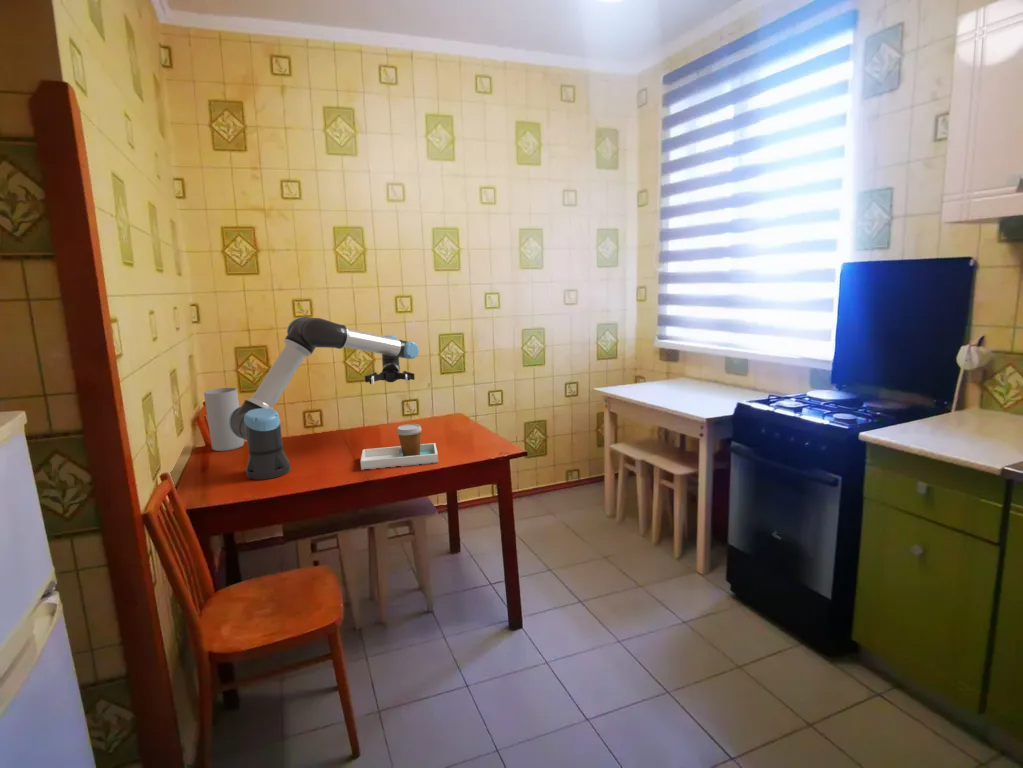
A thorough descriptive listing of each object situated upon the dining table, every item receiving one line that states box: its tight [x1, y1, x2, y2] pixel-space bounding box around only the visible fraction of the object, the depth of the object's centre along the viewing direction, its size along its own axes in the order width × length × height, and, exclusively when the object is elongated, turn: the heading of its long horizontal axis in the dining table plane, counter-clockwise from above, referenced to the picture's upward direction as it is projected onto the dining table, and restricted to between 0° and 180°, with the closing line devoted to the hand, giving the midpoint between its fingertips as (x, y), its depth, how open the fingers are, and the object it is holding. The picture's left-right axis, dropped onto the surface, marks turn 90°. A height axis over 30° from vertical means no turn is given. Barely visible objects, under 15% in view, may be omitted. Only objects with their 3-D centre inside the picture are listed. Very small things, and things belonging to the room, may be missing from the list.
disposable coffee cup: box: [396, 423, 422, 457], centre depth 216 cm, size 10×10×12 cm
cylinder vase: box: [203, 387, 245, 452], centre depth 239 cm, size 12×12×25 cm
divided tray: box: [359, 442, 439, 471], centre depth 216 cm, size 28×15×4 cm, turn 101°
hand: (389, 381), depth 226 cm, fingers open, 13 cm apart
